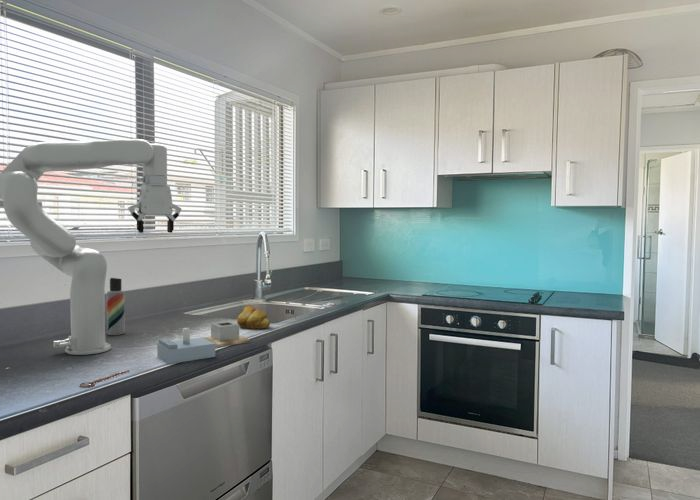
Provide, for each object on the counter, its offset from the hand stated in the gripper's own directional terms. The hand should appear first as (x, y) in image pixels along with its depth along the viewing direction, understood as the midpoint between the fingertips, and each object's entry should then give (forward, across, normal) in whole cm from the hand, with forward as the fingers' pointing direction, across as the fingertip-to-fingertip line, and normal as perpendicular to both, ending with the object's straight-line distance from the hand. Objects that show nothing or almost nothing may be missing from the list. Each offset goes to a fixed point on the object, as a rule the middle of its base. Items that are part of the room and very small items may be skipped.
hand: (155, 232), depth 179 cm
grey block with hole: (+36, +18, -16) cm, 43 cm away
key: (+37, -25, -37) cm, 58 cm away
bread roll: (+37, +36, -1) cm, 51 cm away
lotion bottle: (+36, -9, +16) cm, 41 cm away
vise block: (+36, 0, -28) cm, 46 cm away
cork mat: (+36, +18, -16) cm, 44 cm away
